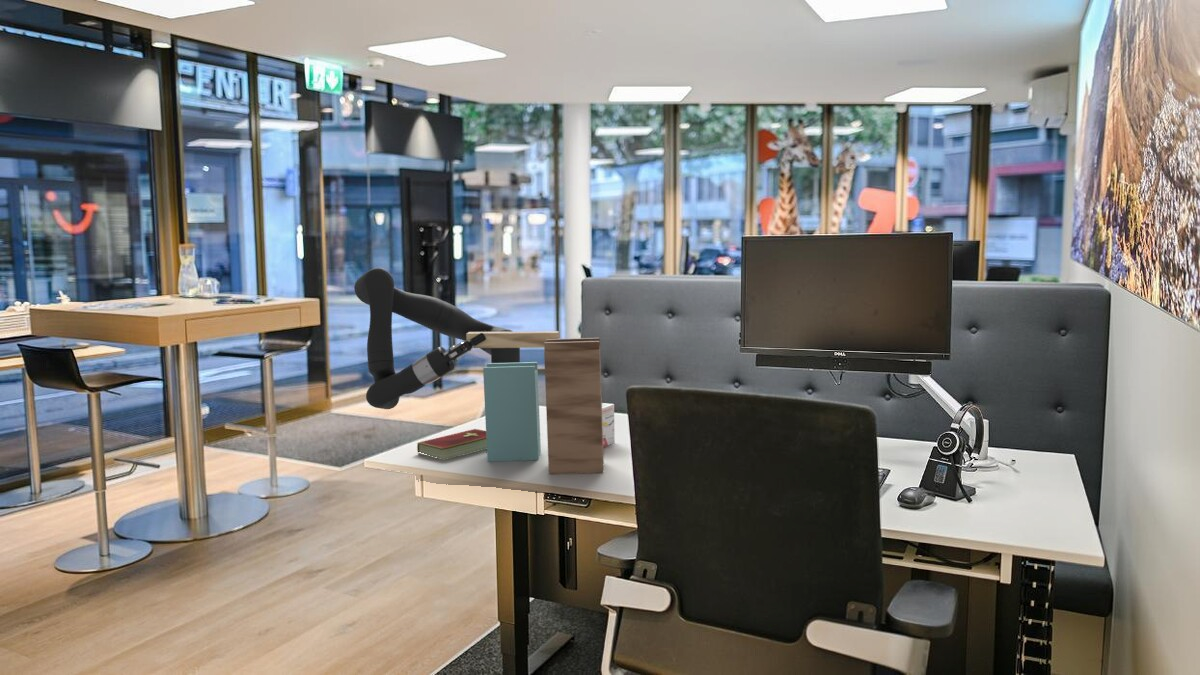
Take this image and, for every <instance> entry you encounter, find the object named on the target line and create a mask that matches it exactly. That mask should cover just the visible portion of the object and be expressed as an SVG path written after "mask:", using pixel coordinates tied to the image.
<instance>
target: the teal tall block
mask: <svg viewBox="0 0 1200 675" xmlns="http://www.w3.org/2000/svg"><path fill="white" fill-rule="evenodd" d="M538 370H539V369H538V361H530V362H529V361H528V362H526V361H525V362H524V361H522V362H521V361H520V363H491V362H489V363H486V366H483V368H482V371H483V372H482V374H483V376H482V377H483V395H484V398H483V399H484V415H485V416H484V417H485V431H486V441H487V449H486V455H487V456H486V457H487V458H486V459H487V462H513V461H517V462H518V461H519V462H520V461H539V460H538V459H540V457H539V456H541V454H540V453H542V450H541V447H542V446H541V421H540V420H541V419H540V402H539V401H540V400H539V399H540V397H539V396H540V394H539V375H538V372H539V371H538Z"/></svg>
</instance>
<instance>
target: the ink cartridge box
mask: <svg viewBox="0 0 1200 675" xmlns="http://www.w3.org/2000/svg"><path fill="white" fill-rule="evenodd" d="M602 425H603V448H606V447H608V446H610V444H611V445H614V444H615V439H616V438H615V434H616V433H615V432H616V431H615V404H614V403H605V402H602Z"/></svg>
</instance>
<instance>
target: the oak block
mask: <svg viewBox="0 0 1200 675" xmlns="http://www.w3.org/2000/svg"><path fill="white" fill-rule="evenodd" d="M480 333H484V335H485V337H486V340H484V341H483V342H481V343H479V344H478V345H476V346H475V345H474V346H475V347H474V348H473V349H480V348H520V349H521V348H522V349H524V348H525V349H528V348H529V349H530V348H531V349H534V348H536V349H537V348H539V349H540V348H542V349H544V343H545V342H546V340H547V339H560V331H559V330H549V331H548V330H546V331H545V330H544V331H543V330H539V331H538V330H537V331H536V330H533V331H532V330H529V331H528V330H527V331H526V330H525V331H521V330H520V331H513V332H468V333H467V334H466V339H467V340H468V339H469V340H471V339H472V338H474V337H475V336H477V335H479V334H480Z"/></svg>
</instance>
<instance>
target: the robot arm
mask: <svg viewBox="0 0 1200 675" xmlns="http://www.w3.org/2000/svg"><path fill="white" fill-rule="evenodd" d="M353 288H354V293H355V295H356V297H357V299H359V301H361V302H362V303H364V304H366V305H368V306H369V314H370V316H369V326H368V333H367V334H368V335H367V344H366V355H367V368H368V372H369V374H370V375H371V376H372V377H373V380H374V383H372V384H371V385H370V386H369V387H368V389H367V391H366V394H365V395H366V396H365V398H366V401H367V404H368V405H369V406H371V407H373V408H376V409H381V410H392V409H393V408H395V407H396V406H397V405H398V404H399V401H400V397H402V396H404V395H409V394H413V393H415V392H418V390H420V389H422V388H423V387H426V386H428V385H429V384H432V383H434V382H435V381H438V380H439V379H441V378H442V377H444V376H446V375H447V374H449V373H450V372H452V371H454V370H455V363H454V362H453V361H459V360H461V358H463V357H464V356H466V355H467V354H468V353H470V352H471V351H472V349H475V348H474V347H475V346H476V345H478V344H479V343H481V342H483V341H484V340H486V337H485V335H484V333H480V334H479V335H477V336H475V337H474V338H472V339H471V340H469V339H468V340H467V339H466V334H467V333H468V332H514V331H513V330H511V329H510V328H509V329H508V328H505V327H500V326H496V325H492V324H489V323H485V322H483V321H480V320H478V319H476V318H474V317H472V316H471V315H470V314H468V313H466V312H465V311H463V309H460V308H458V307H457V306H455V305H453V304H451V303H449V302H447V301H446V300H445V301H444V300H442V299H441V298H437V297H434V296H430V295H425V294H421V293H420V294H418V293H412V292H409V291H408V292H407V291H405V290H402V289H400V288H397V287H396V286H395V282H394V278H393V275H392V274H391V273H390V272H389V271H388V270H387V269H385V268H382V267H373V268H371V269H369V270H367V271H366V272H365V273H364V274H362V275H361V276H360V277H359V278H357V280H356V281H355V284H354V287H353ZM393 313H394V314H396V315H398V316H400V317H403V318H405V319H407V320H409V321H411V322H414V323H416V324H418V325H421V326H423V327H425V328H426V329H429V330H431V331H433V332H436V333H438V334H440V335H444V336H447V337H450V338H453V339H458V340H461V341H460V342H459V343H457V344H454V345H452V346H451V347H449V348H448V351H446V349H445V348H444V347H442V346H438V347H436V348H435V349H433V350H431V351H430V352H428V353H426V354H424V355H422V356H421V357H420V358H418V359H417V360H416V361H414V362H413V363H412V364H409V365H408V366H406V367H405V368H403V369H402V370H400V371H398V372H395V363H394V351H393V350H394V348H393V347H394V346H393V329H392V328H393V325H392V323H393ZM474 345H475V346H474ZM479 349H480V350H482V351H484V352H485V353H487V354H488V355H490V359H491V360H490V361H491V362H490V363H520V362H521V354H520V353H521V348H479Z"/></svg>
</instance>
